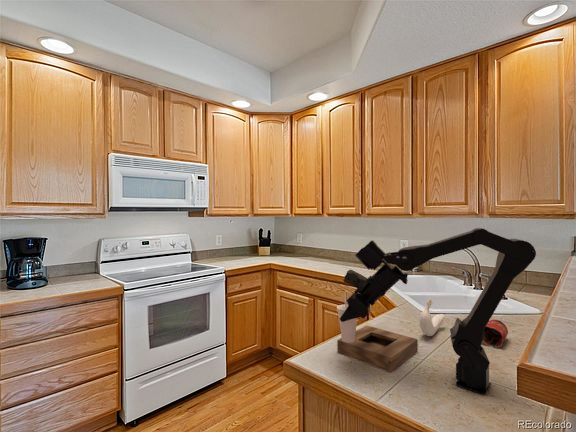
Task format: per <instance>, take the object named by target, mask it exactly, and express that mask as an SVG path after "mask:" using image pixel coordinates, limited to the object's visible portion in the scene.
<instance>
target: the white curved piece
mask: <svg viewBox="0 0 576 432" xmlns="http://www.w3.org/2000/svg"><path fill="white" fill-rule="evenodd" d="M432 305H433V302H432V298H429V299H427V300H426V302H425V307H424V309H423V310H421V312H420V315H419V326H420V327H419V328H420V330H421V333H423V334H424V335H425V336H428V337H432V336H434V335H435V334H436V332H437V331H438V330H439V328H440V327H441V326H442V325H443V323H444V320H445V317H446V316H445V315H444V314H442V313H440V314H436V315H434V316H432V315H431V313H430V307H431V306H432Z"/></svg>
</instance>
